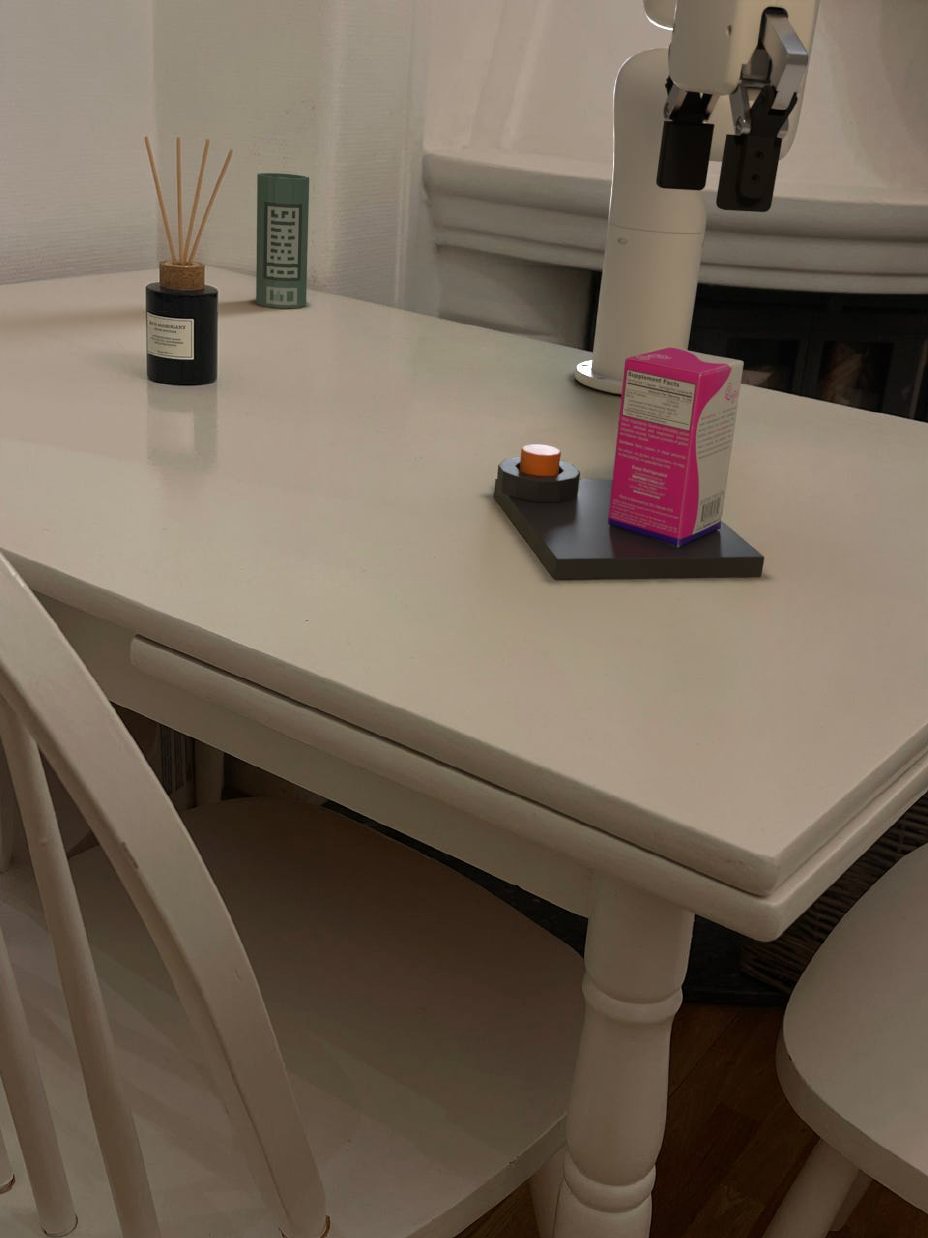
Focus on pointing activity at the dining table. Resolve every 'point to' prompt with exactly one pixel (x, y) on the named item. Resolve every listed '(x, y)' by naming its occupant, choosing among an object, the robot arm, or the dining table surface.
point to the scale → (606, 532)
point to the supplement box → (674, 444)
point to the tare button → (540, 460)
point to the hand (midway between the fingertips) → (709, 198)
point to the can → (282, 240)
